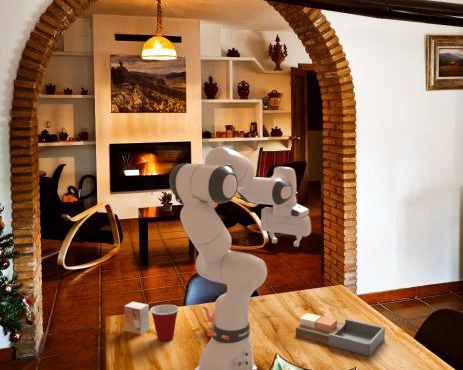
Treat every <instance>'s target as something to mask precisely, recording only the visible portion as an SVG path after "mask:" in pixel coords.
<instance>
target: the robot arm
mask: <svg viewBox="0 0 463 370" xmlns="http://www.w3.org/2000/svg"><path fill="white" fill-rule="evenodd" d="M168 179H169V180H168V181H169V183H168V184H169V188H170V190H171V192H172V194H173V195H174V199H175V201H176V202H177V203H179V204H181V205H183V207H182V209H181V211H180V213H179V214H180V215H179V218H180V221H181V224H182V227H183V229H184V231H185V233H186V235H187V237H188V238H189V240H190V241H191V242H192V244H193V245H194V247H195V249H196V250H197V251H198V255H197V257H196V259H195V269H196V272H197V274H198V275H199V276H201V278H204V279H206V280H208V281H210V282H215V283H219V284H224V285H226V287H227V289H226V292H225V293H223V294H220V295H219V297H218V298H217V299H216V300H215V301H214V309H215V323H214V327H213V331H212V329H208V330H207V332H206V335H207V336H208V337H211V338H210V340H209V341H208V343H207V345H206V346H205V348H204V349H203V351H202V353H201V354H200V356H199V360H198V365H197V366H196V367H195V369H194V370H258V368H257V367H258V366H257V365H256V364H255V361H254V350H253V345H252V344H253V343H252V342H251V339H250V334H251V332H250V331H251V326H250V322H249V304H250V299H251V296H252V295H253V293H254V292H255V291H256V290H257V289H259V288H260V287H261V286H263V284H264V283H265V281H266V280H267V279H266V278H267V275H268V269H267V265H266V263H265V261H264V260H263V259H262V258H260V257H257V256H256V255H253V254H251V253H246V252H242V251H235V250H233V249H231V246H232V236H231V233H230V232H229V230H228V229H227V227H226V226H225V224H224V222H223V221H222V219H221V218H220V216H219V215H218V213H217V212H216V211H215V209H214V203H216V204H224V203H225V204H226V203H230V202H231V201H232V200H233V199H234V197H235V196H236V194H238V195H239V196H240V198H241V200H242V201H243V202H244V203H246V204H261V205H271V206H272V207H270V206H269V207H267V206H264V208H262V209H261V212H260V213H261V214H260V215H261V219H260V230H262V231H264V232H268V235H269V237H270V239H271V243H272V244H277V243H278V238H277V237H276V236H275V233H276V234H278V233H279V234H286V235H291V236H295V238H296V240H295V241H293V247H295V248H296V247H297V248H298V247H299V246H300V241H301V240H302V238H303V237H307V236H309V235H310V234H311V233H312V222H311V221H312V220H311V218H310V215H309V214H310V209H309V208H307V207H305V206H303V205H301V204H298V202H297V201H298V200H297V196H296V193H297V175H296V171H295V169H294V168H292V167H289V166H288V167H287V166H276V167H274V169H273V174H272V176H270V177H258V176H257V177H256V176H255V167H254V163H252V161H251V160H249V158H248V157H246V156H245V155H242V153H239V152H237V151H235V150H233V149H230V148H228V147H223V146H218V147H214V148H212V149H211V150H210V151H209V152H208V153H207V154H206V156H205V160H204V163H189V162H188V163H187V162H186V163H181V164H178V165H176V166H174V167H173V168H172V170H171V172H170V174H169V177H168Z"/></svg>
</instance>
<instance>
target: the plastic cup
mask: <svg viewBox="0 0 463 370" xmlns="http://www.w3.org/2000/svg"><path fill="white" fill-rule="evenodd" d="M179 310H180V307H179V306H177V305H174V304H160V305H154V306H152V307H150V308H149V313H151V315H152V319H153V324H154V325H153V326H154V329H155V332H156V336H157V337H156V338H157V340H158V341H160V342H162V343H167V342H171V341H172V340H174V336H175V330H176V321H177V317H178V316H177V315H178V312H179Z"/></svg>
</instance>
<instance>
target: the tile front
mask: <svg viewBox="0 0 463 370" xmlns="http://www.w3.org/2000/svg"><path fill="white" fill-rule="evenodd" d="M337 322H338V319H334V318H330V317H326V316H322V315H321V318H320V319H319V320H318V321H316V329H320V330H324V331H328V332H331V331H332V330H333V329H335V328H336V327H337Z"/></svg>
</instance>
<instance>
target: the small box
mask: <svg viewBox="0 0 463 370" xmlns="http://www.w3.org/2000/svg"><path fill="white" fill-rule="evenodd" d="M123 308H124V309H123V310H124V311H123V312H124V313H123V314H124V315H123V316H124V331H125V332H126V333H127V332H128V333H132V334H136V335H140V336H142V335H143V334H145V333H147V332H148V331H149V330H150V329H151V328H150V304H147V303H141V302H137V301H131V302H128V303H127V304H125V305H123Z"/></svg>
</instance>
